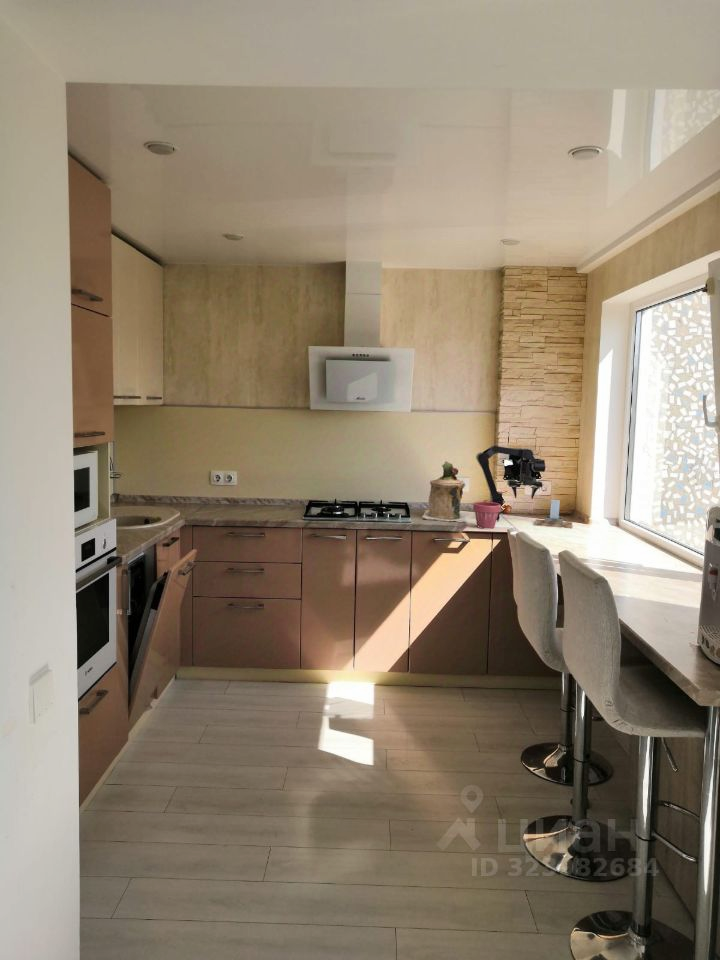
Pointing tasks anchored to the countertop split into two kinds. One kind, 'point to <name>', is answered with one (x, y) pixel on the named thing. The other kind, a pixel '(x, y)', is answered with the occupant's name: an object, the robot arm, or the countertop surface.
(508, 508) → the toy helicopter
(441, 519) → the cookie jar
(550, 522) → the jig cradle
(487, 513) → the plant pot
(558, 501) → the block
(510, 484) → the robot arm
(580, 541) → the countertop surface
